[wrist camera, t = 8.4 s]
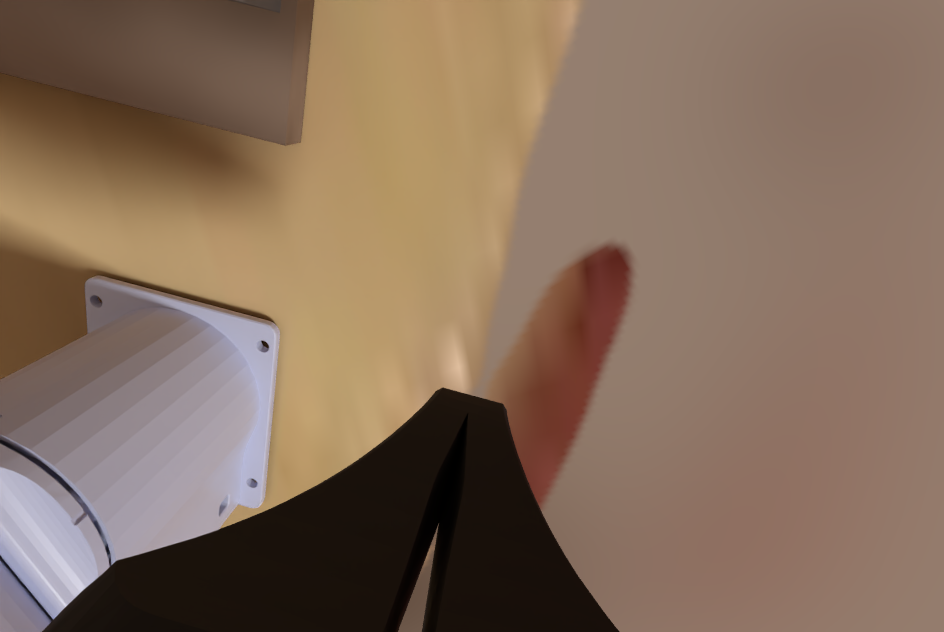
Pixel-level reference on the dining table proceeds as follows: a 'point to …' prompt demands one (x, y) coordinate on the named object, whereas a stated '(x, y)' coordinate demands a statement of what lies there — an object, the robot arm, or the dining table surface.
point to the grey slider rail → (171, 57)
